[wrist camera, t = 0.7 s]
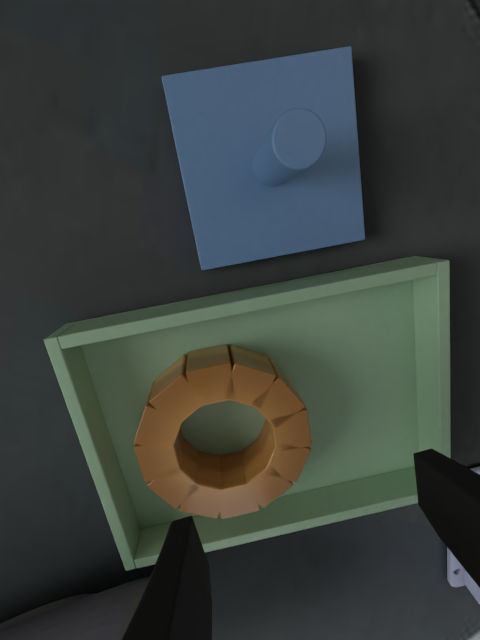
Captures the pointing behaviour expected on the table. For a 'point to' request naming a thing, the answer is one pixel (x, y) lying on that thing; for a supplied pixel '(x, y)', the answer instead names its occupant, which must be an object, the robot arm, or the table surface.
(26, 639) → the bluetooth speaker
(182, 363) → the ring
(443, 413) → the tray
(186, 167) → the post
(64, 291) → the table surface
